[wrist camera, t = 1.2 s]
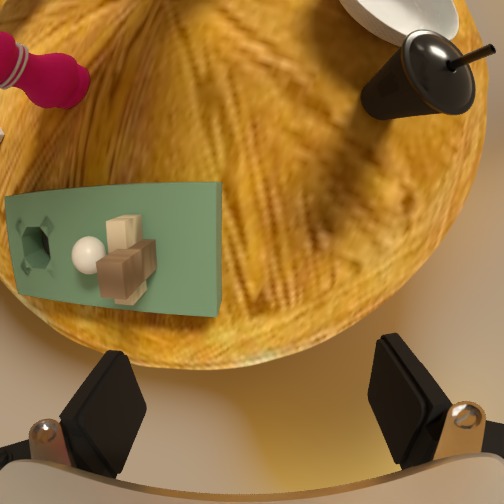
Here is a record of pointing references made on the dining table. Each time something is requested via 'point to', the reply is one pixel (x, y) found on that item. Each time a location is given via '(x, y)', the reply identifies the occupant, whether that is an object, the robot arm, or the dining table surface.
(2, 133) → the supplement box
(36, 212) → the putting mat
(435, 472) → the robot arm
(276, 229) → the dining table surface
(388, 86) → the drinking cup
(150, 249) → the stacked wooden blocks
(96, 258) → the ball
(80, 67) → the pepper mill
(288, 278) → the dining table surface
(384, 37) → the cereal bowl
